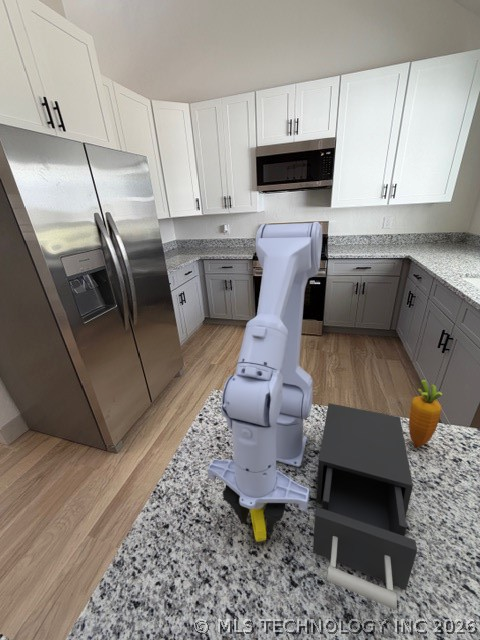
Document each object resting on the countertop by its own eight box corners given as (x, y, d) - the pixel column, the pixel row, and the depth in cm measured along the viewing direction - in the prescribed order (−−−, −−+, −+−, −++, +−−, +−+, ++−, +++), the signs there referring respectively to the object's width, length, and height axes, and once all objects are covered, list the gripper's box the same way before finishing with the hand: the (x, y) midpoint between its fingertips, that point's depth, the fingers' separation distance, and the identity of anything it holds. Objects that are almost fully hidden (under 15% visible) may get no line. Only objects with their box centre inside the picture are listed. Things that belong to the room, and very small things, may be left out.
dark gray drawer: (412, 644, 30) (426, 603, 27) (306, 595, 34) (308, 555, 31) (394, 493, 45) (402, 458, 43) (323, 473, 50) (326, 439, 47)
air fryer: (402, 532, 41) (413, 485, 37) (315, 503, 46) (318, 459, 42) (392, 456, 53) (400, 416, 50) (325, 440, 58) (328, 402, 55)
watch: (271, 547, 40) (271, 520, 38) (252, 551, 39) (251, 523, 37) (261, 507, 45) (261, 481, 43) (245, 510, 45) (244, 484, 43)
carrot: (436, 458, 52) (453, 393, 47) (407, 455, 53) (421, 390, 48) (425, 439, 57) (440, 377, 52) (399, 436, 58) (411, 375, 53)
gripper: (193, 462, 36) (203, 530, 41) (303, 499, 31) (300, 572, 35) (217, 426, 42) (223, 489, 47) (313, 451, 37) (309, 520, 42)
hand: (257, 522), depth 42 cm, fingers closed on watch, 3 cm apart
